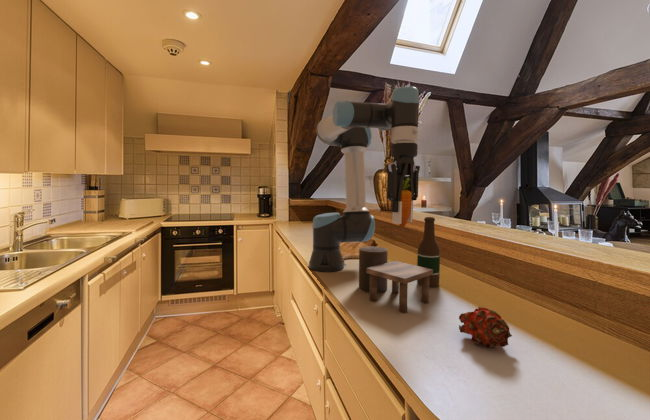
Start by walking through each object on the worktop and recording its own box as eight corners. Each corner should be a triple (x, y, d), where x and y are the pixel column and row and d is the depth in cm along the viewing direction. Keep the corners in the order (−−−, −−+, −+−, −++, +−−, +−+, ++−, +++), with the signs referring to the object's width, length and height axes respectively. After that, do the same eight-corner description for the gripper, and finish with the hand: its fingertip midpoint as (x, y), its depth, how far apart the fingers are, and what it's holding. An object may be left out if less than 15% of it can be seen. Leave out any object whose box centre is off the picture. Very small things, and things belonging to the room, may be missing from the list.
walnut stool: (366, 299, 93) (366, 268, 92) (394, 289, 102) (394, 260, 101) (404, 314, 82) (404, 278, 82) (432, 302, 91) (433, 269, 91)
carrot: (390, 227, 92) (391, 177, 90) (403, 226, 94) (404, 177, 92) (400, 229, 87) (402, 177, 86) (414, 228, 89) (415, 177, 88)
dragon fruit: (509, 366, 61) (460, 346, 72) (528, 334, 64) (478, 320, 75) (489, 337, 60) (442, 321, 70) (509, 305, 63) (461, 295, 74)
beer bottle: (436, 281, 111) (438, 216, 110) (442, 288, 104) (444, 218, 102) (414, 280, 112) (416, 216, 110) (419, 287, 104) (420, 218, 103)
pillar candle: (364, 294, 98) (364, 248, 97) (355, 284, 108) (355, 243, 107) (392, 291, 100) (392, 247, 99) (380, 282, 110) (381, 242, 109)
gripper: (396, 139, 80) (394, 226, 82) (432, 144, 91) (429, 221, 93) (374, 142, 85) (373, 223, 87) (410, 146, 97) (408, 219, 99)
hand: (402, 222), depth 90 cm, fingers closed on carrot, 5 cm apart
